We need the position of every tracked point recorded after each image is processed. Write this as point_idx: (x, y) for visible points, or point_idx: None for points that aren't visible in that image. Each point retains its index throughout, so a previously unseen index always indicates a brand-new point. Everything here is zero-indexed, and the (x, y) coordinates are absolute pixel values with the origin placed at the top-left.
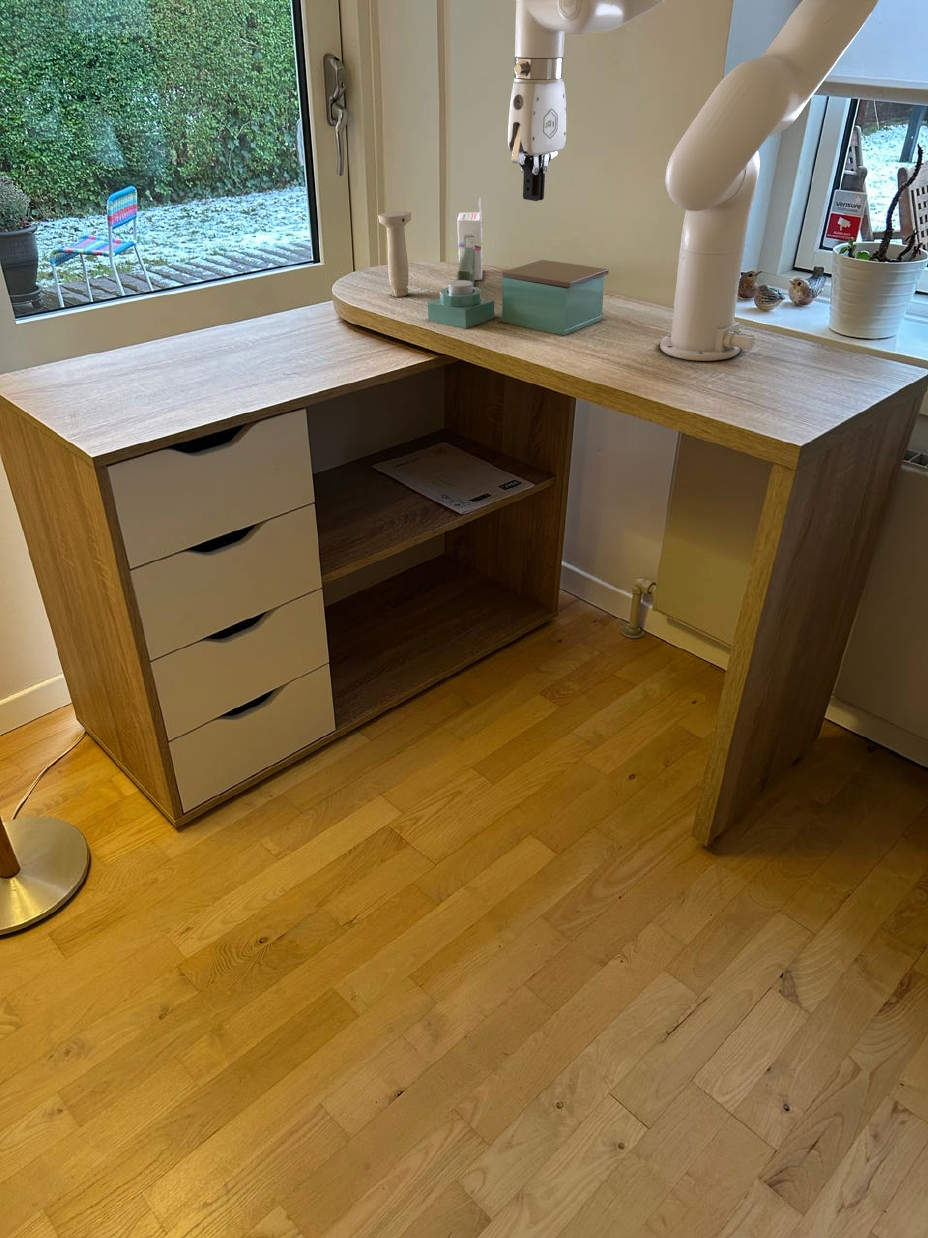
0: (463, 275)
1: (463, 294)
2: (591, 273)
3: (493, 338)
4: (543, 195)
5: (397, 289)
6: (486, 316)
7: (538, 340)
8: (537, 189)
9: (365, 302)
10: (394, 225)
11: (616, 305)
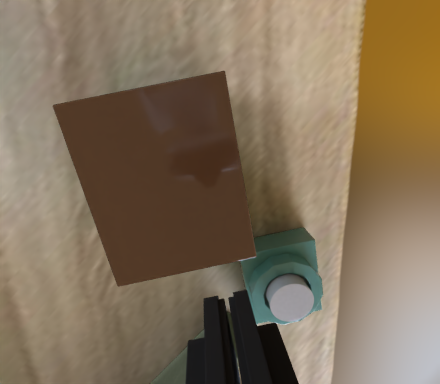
0: (235, 351)
1: (298, 276)
2: (118, 104)
3: (310, 160)
4: (207, 305)
5: None
6: (256, 240)
7: (268, 101)
8: (256, 324)
9: None
10: None
11: (14, 166)
